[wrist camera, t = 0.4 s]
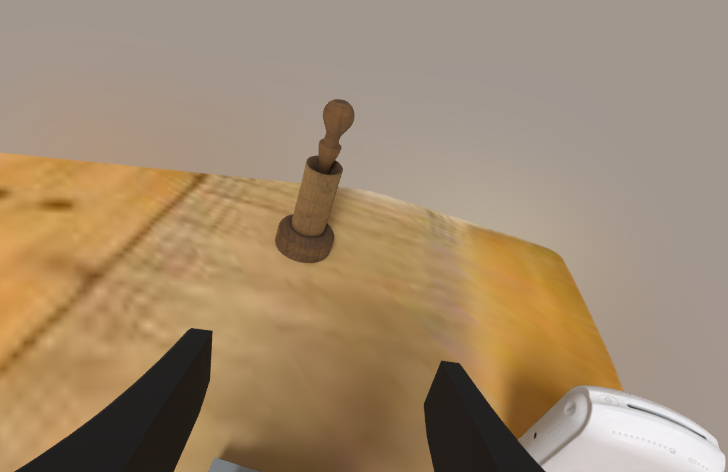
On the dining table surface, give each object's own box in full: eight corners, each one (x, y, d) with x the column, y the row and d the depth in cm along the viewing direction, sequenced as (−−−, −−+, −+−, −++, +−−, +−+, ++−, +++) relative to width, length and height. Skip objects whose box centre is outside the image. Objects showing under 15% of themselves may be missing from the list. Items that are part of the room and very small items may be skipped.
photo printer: (502, 495, 32) (601, 414, 25) (499, 443, 35) (585, 360, 28) (625, 546, 31) (760, 479, 24) (610, 488, 35) (724, 416, 28)
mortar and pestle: (279, 263, 45) (315, 109, 34) (271, 226, 49) (302, 82, 39) (335, 263, 47) (384, 122, 37) (323, 229, 52) (364, 94, 42)
